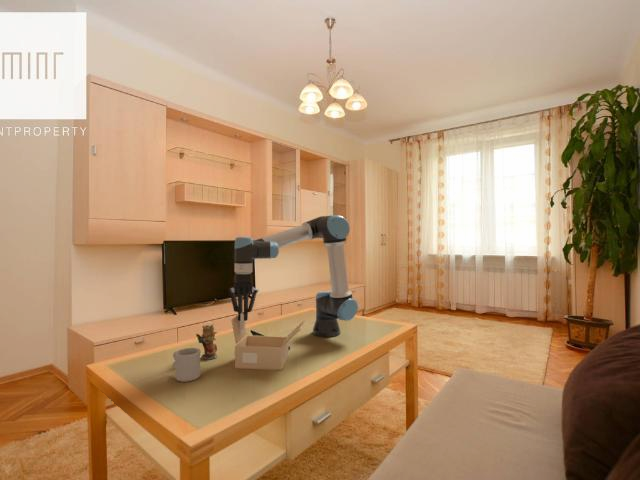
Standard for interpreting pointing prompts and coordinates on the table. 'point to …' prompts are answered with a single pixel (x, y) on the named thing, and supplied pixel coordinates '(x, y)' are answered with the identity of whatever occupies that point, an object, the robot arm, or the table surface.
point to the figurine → (208, 342)
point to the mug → (187, 364)
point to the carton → (261, 353)
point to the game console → (260, 335)
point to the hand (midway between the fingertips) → (242, 328)
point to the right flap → (293, 333)
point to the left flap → (238, 330)
